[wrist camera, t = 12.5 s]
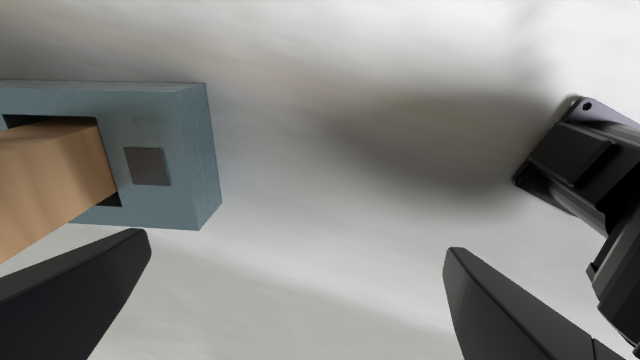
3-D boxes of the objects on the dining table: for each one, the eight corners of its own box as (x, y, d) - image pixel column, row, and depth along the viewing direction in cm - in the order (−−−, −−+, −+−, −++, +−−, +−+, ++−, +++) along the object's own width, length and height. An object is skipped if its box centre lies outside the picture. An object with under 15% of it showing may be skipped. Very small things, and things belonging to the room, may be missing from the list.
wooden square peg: (132, 114, 21) (-94, 185, 11) (146, 172, 23) (-32, 284, 12) (73, 112, 22) (-203, 180, 11) (92, 170, 24) (-128, 276, 13)
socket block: (205, 83, 20) (171, 92, 16) (222, 202, 24) (197, 232, 20) (-13, 79, 21) (-90, 86, 18) (35, 192, 25) (-20, 218, 21)
